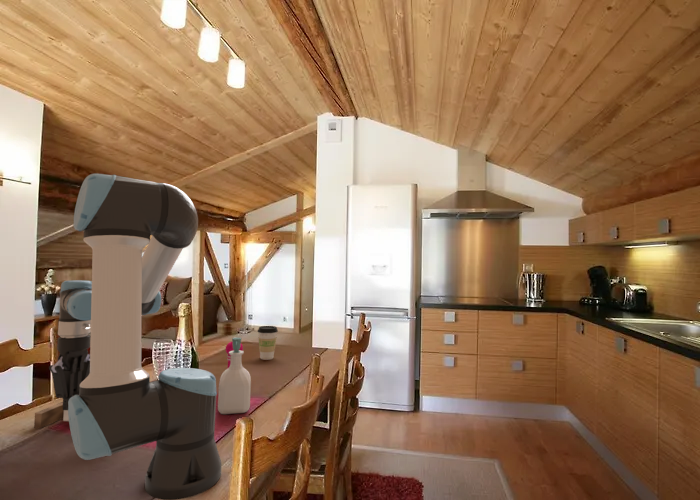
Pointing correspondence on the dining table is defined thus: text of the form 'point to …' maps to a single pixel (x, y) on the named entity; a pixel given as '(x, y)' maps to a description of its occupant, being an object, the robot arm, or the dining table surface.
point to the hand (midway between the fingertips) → (69, 419)
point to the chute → (49, 415)
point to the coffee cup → (267, 341)
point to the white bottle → (234, 384)
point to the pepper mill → (230, 348)
